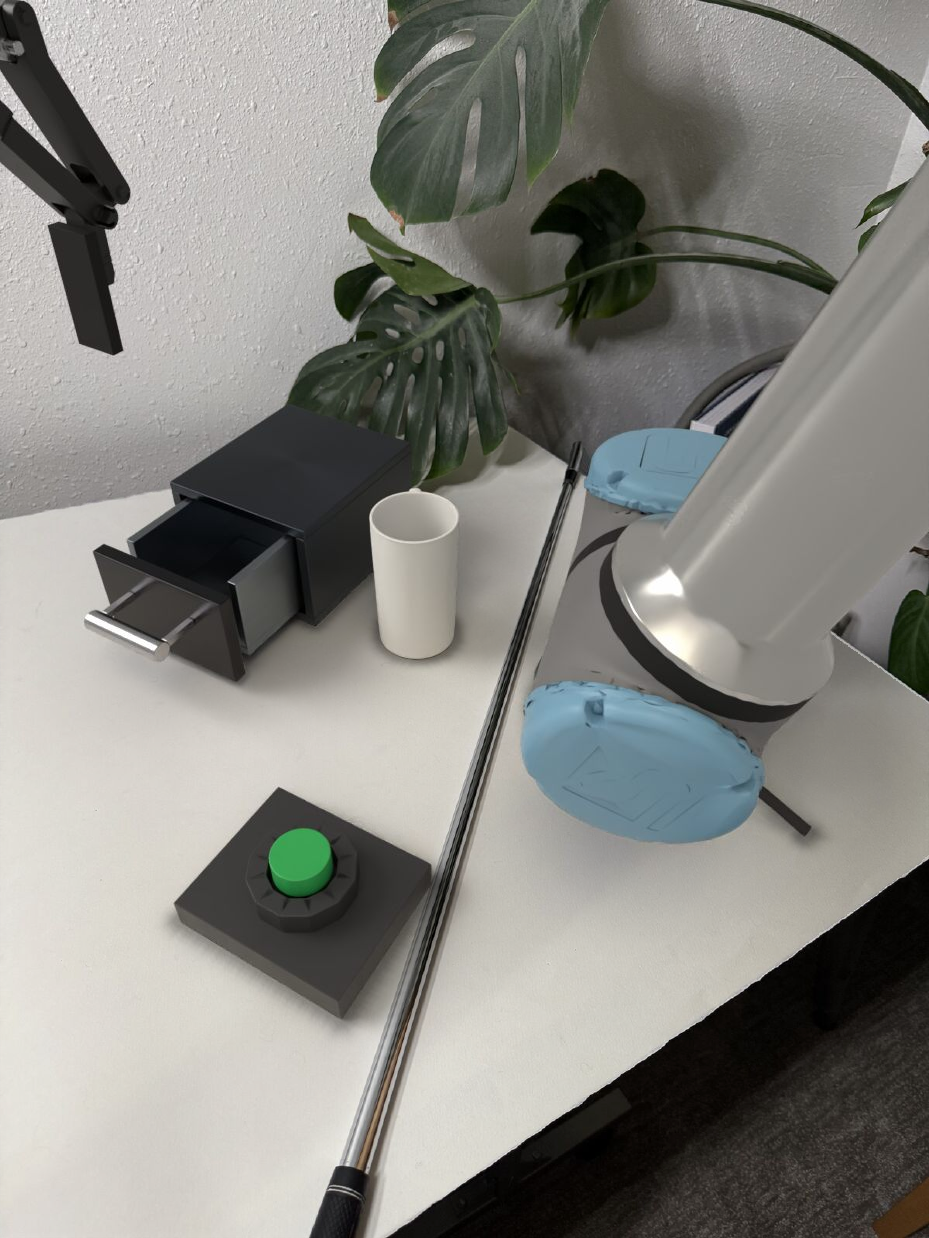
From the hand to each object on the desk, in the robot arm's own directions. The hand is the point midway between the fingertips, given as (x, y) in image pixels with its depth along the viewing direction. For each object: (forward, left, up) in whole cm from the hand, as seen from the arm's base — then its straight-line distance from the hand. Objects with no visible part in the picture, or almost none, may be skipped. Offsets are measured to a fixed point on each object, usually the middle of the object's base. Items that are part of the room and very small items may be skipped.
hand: (0, 395), depth 46 cm
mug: (-11, -23, -28) cm, 38 cm away
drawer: (+3, -14, -27) cm, 30 cm away
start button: (-19, +3, -24) cm, 31 cm away
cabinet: (+3, -26, -28) cm, 38 cm away
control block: (-19, +3, -28) cm, 34 cm away
